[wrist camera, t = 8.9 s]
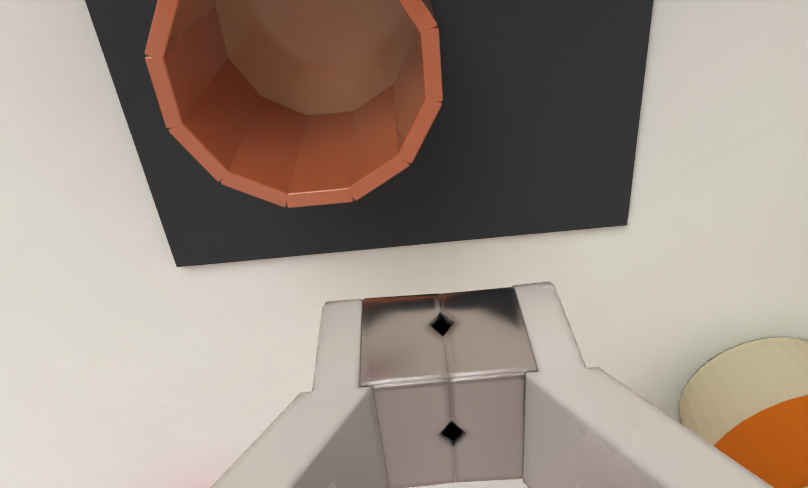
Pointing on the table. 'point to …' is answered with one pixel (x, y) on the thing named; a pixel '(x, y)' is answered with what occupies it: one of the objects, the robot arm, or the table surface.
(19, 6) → the table surface
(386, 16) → the cup
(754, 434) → the reusable coffee cup
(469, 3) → the mat
